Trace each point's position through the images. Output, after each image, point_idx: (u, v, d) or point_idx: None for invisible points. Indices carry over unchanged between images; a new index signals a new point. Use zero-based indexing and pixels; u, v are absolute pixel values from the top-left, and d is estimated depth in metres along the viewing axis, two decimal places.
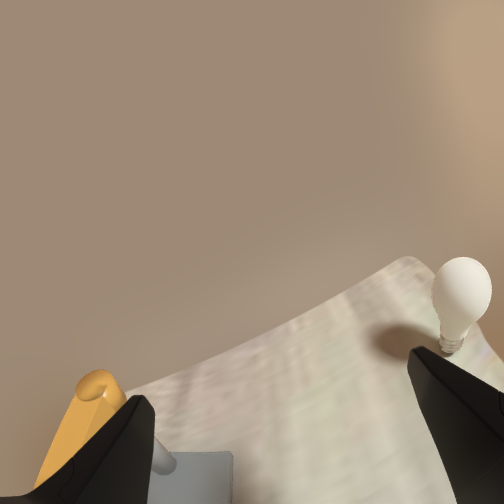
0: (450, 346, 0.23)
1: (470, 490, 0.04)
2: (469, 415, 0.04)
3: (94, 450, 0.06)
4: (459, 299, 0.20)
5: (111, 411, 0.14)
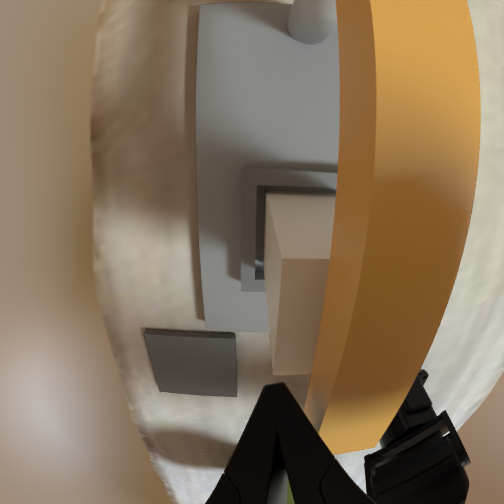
0: None
1: None
2: None
3: (254, 457, 0.05)
4: None
5: None
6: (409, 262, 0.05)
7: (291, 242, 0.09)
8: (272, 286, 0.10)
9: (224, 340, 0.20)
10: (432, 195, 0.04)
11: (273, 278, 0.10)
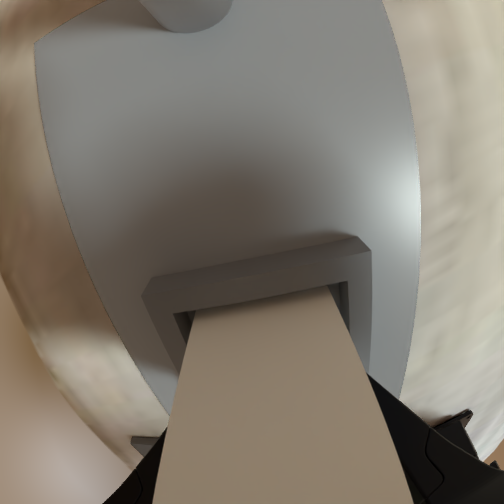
0: None
1: None
2: None
3: None
4: None
5: None
6: None
7: None
8: None
9: None
10: None
11: None
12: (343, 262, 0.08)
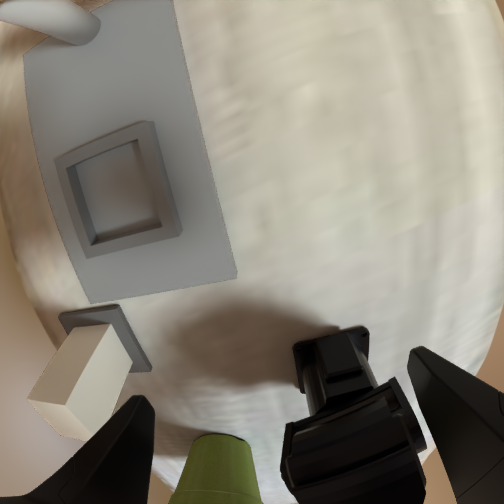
0: None
1: (470, 490, 0.04)
2: (469, 415, 0.04)
3: (94, 450, 0.06)
4: None
5: None
6: None
7: (35, 388, 0.14)
8: None
9: (110, 312, 0.21)
10: None
11: None
12: (133, 128, 0.14)
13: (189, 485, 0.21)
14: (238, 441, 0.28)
